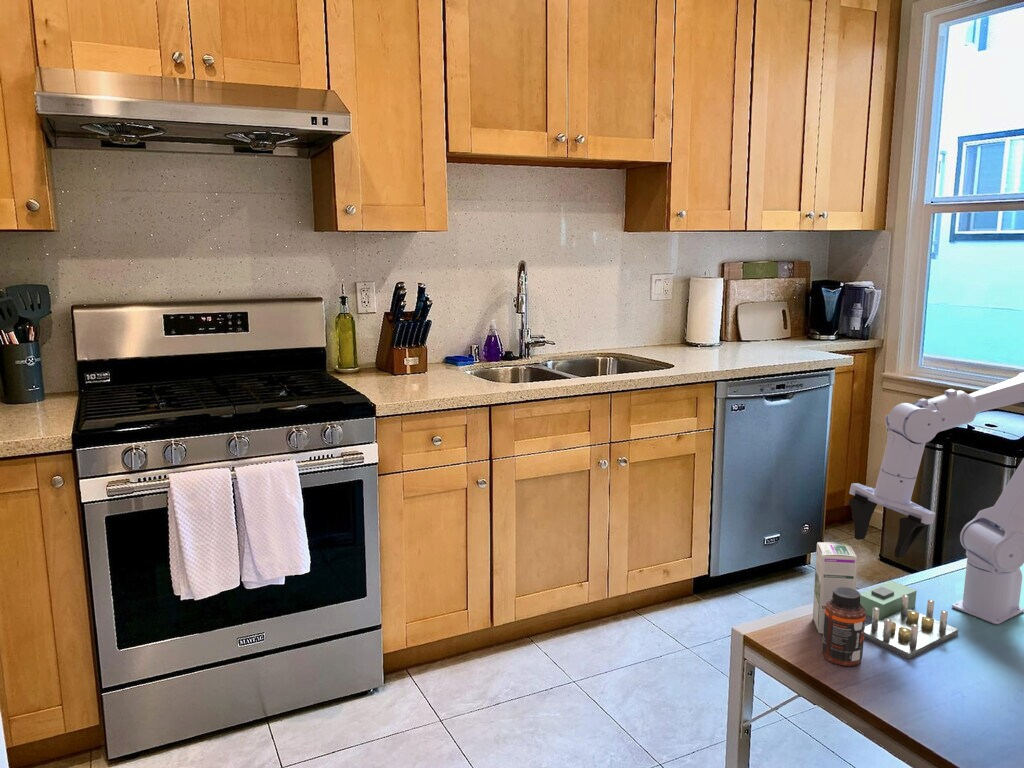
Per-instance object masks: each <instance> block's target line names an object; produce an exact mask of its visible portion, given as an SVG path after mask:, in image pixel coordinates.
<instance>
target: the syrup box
mask: <svg viewBox="0 0 1024 768" xmlns="http://www.w3.org/2000/svg"><path fill="white" fill-rule="evenodd" d="M815 551H816V552H815V553H816V554H815V555H816V557H815V568H814V569H815V570H814V590H813V591H814V592H813V610H812V620H813V622H814V626H815V628H816V631H817V633H818V634H820V635H823V631H824V617H825V606H826V603H827V602H828V601H829V600H831V599H833V598H832V595H833V590H834V589H835V588H837V587H848V588H852V589H855V590H856V589H857V588H856V587H857V570H858V569H857V568H858V567H857V566H858V557H857V555H856V553H855V551H854V549H853V547H852V545H851V543H844V542H834V541H831V542H830V541H829V542H825V541H824V542H821V541H818V542H817V543H816V550H815Z"/></svg>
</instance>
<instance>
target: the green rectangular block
mask: <svg viewBox="0 0 1024 768" xmlns="http://www.w3.org/2000/svg"><path fill="white" fill-rule="evenodd" d="M859 593H860V604H861V605H862V606H863V607H864V608H865V611H866V616H868V617H870V618H872V613H873V607H877V608H879V620H881V619H884V618H886V617H888V616H890V615H893V614H895V613H897V612H899V611H901V606H902V595H908V596H909V601H908V608H909V609H911V610H913V609H914V608H916V602H917V600H916V599H917V590H916V589H913V588H912V587H908V586H907V585H905V584H902V583H900V582H897V581H894V580H890V581H888V582H885V583H882V584H880V585H877V586H875V587H872V588H870V589H867V590H865V591H863V592H859Z"/></svg>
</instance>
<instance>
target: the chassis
mask: <svg viewBox="0 0 1024 768" xmlns="http://www.w3.org/2000/svg"><path fill="white" fill-rule="evenodd" d="M908 601H909V596H908V595H902V606H901V611H899V612H897V613H895V614H893V615H890V616H888V617H886V618H884V619H881V620H879V608H877V607H873V613H872V617H871V623H870V624H867V625H865V630H864V639H865V638H866V640H868V641H869V642H871V643H874V642H875V643H874V644H875V645H878V646H880V645H881V646H880V647H882V646H883V647H882V648H884V647H885V649H886V648H887V650H888V651H891V652H893V653H894V654H897V653H898V654H897V655H899V656H901V655H902V656H901V657H903V656H904V658H905V659H907V658H908V660H910V659H912V658H914V657H917V656H918V655H920V654H922V653H924V652H926V651H928V650H931V649H933V648H934V647H936V646H938V645H940V644H942V643H945V642H947V641H948V640H950V639H952V638H954V637H957V636H958V635H959V629H958V628H957V627H953V626H951V625H949V624H948V623H947V622H948V612H949V611H947V610H941V611H940V618H939V619H940V620H937V619H935V618H934V608H935V600H933V599H928V600H927V603H926V614H923V613H921V612H918V611H916V610H913V609H909V608H908Z"/></svg>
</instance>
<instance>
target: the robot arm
mask: <svg viewBox="0 0 1024 768" xmlns="http://www.w3.org/2000/svg"><path fill="white" fill-rule="evenodd" d="M917 401H918V402H916V403H915V404H913V403H910V402H901V403H899V404H897V405H895V406H894V407H893V408H892V409H891V410H890V411H889V413H888V414H885V417H884V424H885V426H886V429H887V436H886V444H885V448H884V452H883V456H882V460H881V464H880V469H879V471H878V472H879V473H878V476H877V481H876V484H875V488H873V487H872V486H871V487H870V486H867V485H864V484H861V483H859V482H857V483H856V482H855V483H854V482H853V483H851V485H850V487H849V492H848V494H850V495H852V496H853V498H852V497H850V498H849V506H850V508H851V512H852V517H853V522H854V523H853V525H854V526H853V527H854V539H855V540H857V541H858V540H865V539H866V536H867V534H868V529H869V526H870V522H871V519H872V516H873V514H874V512H875V509H876V508H877V506H878V505H880V506H882V507H885V508H886V509H888V510H892V511H895V512H898V513H899V514H902V515H905V516H906V517H901V518H899V521H898V523H899V526H898V527H899V528H898V529H899V530H898V538H897V542H896V546H895V550H894V557H895V558H898V559H901V558H905V556H906V555H907V553H908V551H909V549H910V548H911V546H912V544H913V543H914V542H915V540H916V539H917V538H918V537H919V536H920V535H921V534H922V533H923V532H924V531H925V530H926V529H927V528H928V527H929V526H930V525H932V524H934V521H935V516H936V512H934V511H931V510H929V509H927V508H925V507H923V506H922V505H919V504H917V503H915V502H913V501H912V495H913V492H914V488H915V486H916V481H917V477H918V474H919V469H920V466H921V463H922V462H921V461H922V458H923V454H924V451H925V447H926V444H927V443H929V442H931V441H932V440H933V439H934V438H935V437H936V435H937V434H938V433H940V432H943V431H947V430H950V429H953V428H957V427H959V426H962V425H963V426H964V425H966V424H970V423H972V422H973V421H975V418H976V416H977V414H978V413H982V412H986V411H990V410H994V409H999V408H1003V407H1006V406H1011V405H1014V404H1019V403H1024V372H1019V373H1018V374H1017V375H1016V376H1014V377H1012V378H1009V379H1006V380H1003V381H1002V382H998V383H995V384H993V385H990V386H987V387H985V388H982V389H979V390H976V391H973V392H971V393H967V392H966V391H963V390H961V389H960V390H957V389H953V388H949V389H946V390H944V394H941V395H938V396H935V397H931V398H928V399H926V398H924V397H923V398H920V399H918V400H917ZM1000 528H1002V529H1003V530H1002V529H1000ZM959 541H960V544H961V546H962V547H963V549H965V556H966V557H967V558H966V566H965V567H966V568H965V576H964V584H963V585H964V587H963V593H962V599H959V600H958V601H955V602H953V603H952V604H951V607H952V608H954V609H955V610H958V611H961V612H963V613H966V614H969V615H971V616H973V617H977V618H979V619H981V620H984V621H987V622H989V623H992V624H993V625H1000V624H1002V623H1004V622H1006V621H1007V620H1009V619H1011V618H1013V617H1015V616H1018V615H1019V614H1021V613H1023V612H1024V607H1022V606H1020V601H1021V593H1022V585H1023V584H1022V582H1023V573H1022V570H1021V567H1022V566H1023V565H1024V457H1023V458H1022V459H1021V462H1020V463H1019V465H1018V466H1017V468H1016V470H1015V471H1014V473H1013V475H1012V476H1011V478H1010V479H1009V481H1008V483H1007V484H1006V486H1005V487H1004V489H1003V491H1002V492H1001V494H1000V496H998V499H997V500H996V502H995V504H994V505H993V506H990V507H987V508H984V509H983V508H982V509H981V510H979V511H978V512H977V514H976V515H975V517H974V518H973V519H972V520H970V521H968V522H967V523H966V524H965V525H964V526H963V527H962V529H961V531H960V533H959Z"/></svg>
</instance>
